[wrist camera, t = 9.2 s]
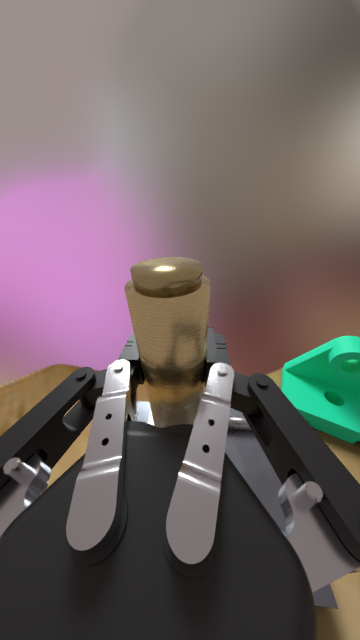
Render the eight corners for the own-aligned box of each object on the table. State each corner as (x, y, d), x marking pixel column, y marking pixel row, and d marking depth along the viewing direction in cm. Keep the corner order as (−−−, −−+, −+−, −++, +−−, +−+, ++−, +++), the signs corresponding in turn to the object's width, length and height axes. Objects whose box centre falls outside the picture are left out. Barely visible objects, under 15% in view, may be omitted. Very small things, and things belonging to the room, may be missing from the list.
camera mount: (276, 413, 25) (300, 361, 20) (280, 374, 31) (300, 324, 25) (394, 462, 20) (473, 411, 15) (374, 404, 26) (426, 351, 20)
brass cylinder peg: (201, 398, 17) (208, 254, 10) (203, 448, 13) (215, 282, 6) (158, 396, 17) (135, 255, 10) (149, 444, 14) (105, 283, 7)
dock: (265, 416, 25) (273, 396, 22) (326, 607, 13) (357, 610, 11) (137, 409, 26) (131, 390, 24) (90, 575, 15) (69, 571, 12)
